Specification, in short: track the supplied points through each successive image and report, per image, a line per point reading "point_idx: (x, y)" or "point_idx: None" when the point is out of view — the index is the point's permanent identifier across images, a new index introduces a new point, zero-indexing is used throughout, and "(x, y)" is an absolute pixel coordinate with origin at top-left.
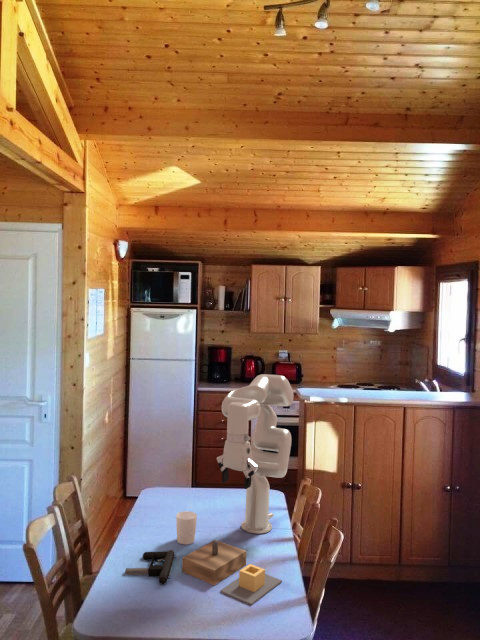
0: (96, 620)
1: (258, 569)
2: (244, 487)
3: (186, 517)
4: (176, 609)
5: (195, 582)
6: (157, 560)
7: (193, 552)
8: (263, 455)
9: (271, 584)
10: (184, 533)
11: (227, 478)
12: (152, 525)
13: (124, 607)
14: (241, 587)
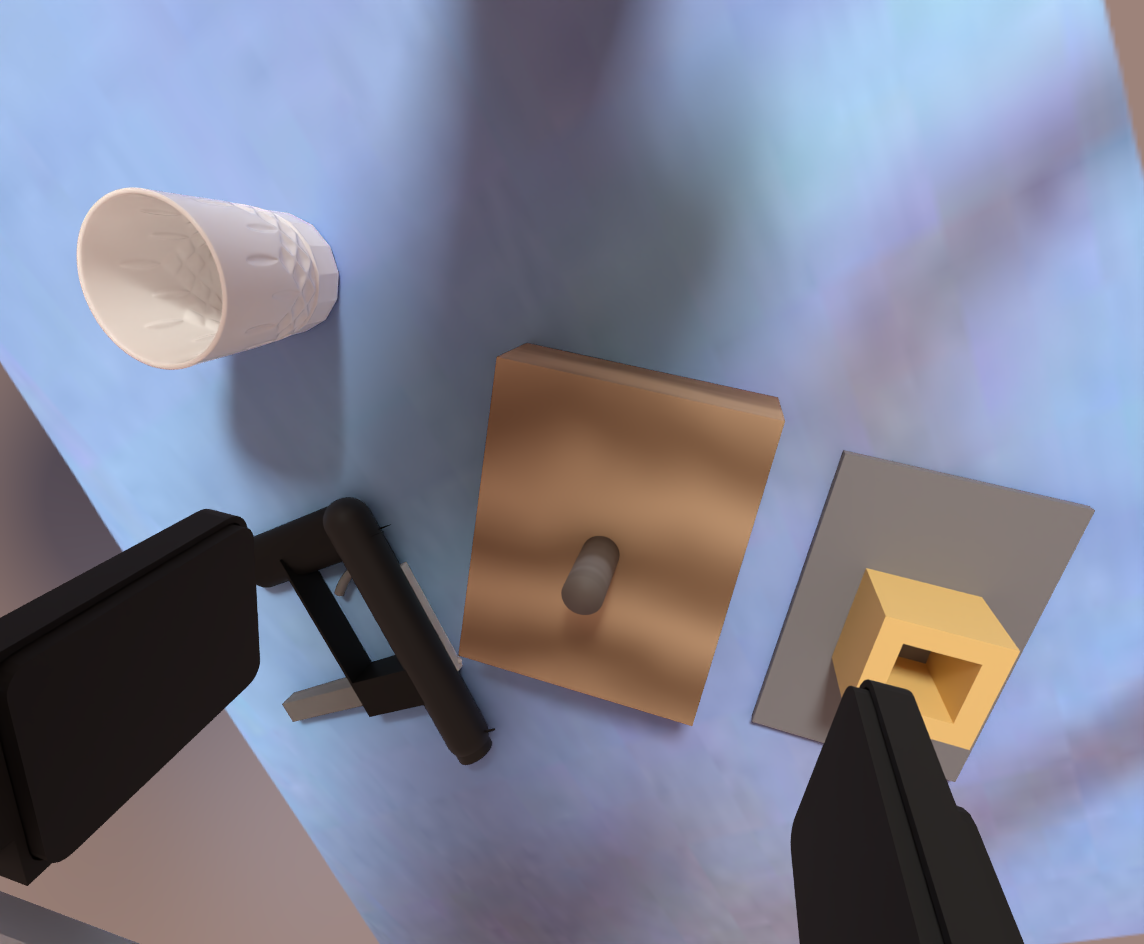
0: None
1: (968, 659)
2: (798, 850)
3: (144, 213)
4: (635, 867)
5: None
6: (336, 594)
7: (476, 582)
8: None
9: (1028, 580)
10: (268, 341)
11: (212, 589)
12: (8, 180)
13: (460, 892)
14: None
